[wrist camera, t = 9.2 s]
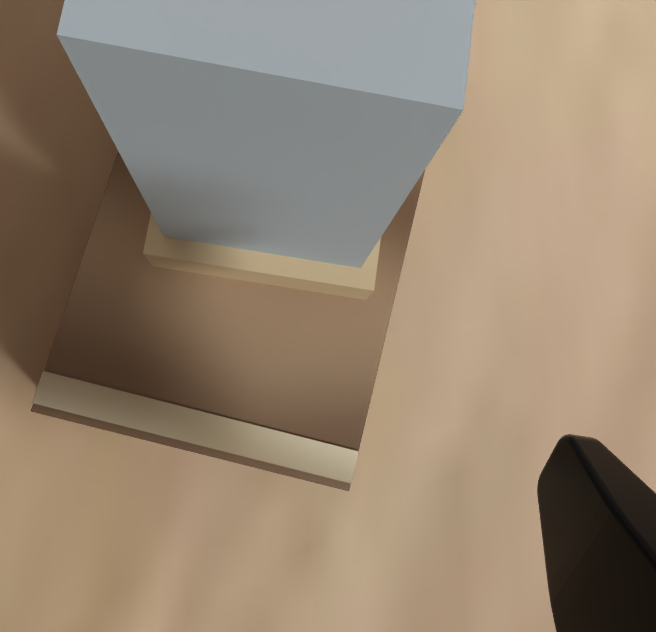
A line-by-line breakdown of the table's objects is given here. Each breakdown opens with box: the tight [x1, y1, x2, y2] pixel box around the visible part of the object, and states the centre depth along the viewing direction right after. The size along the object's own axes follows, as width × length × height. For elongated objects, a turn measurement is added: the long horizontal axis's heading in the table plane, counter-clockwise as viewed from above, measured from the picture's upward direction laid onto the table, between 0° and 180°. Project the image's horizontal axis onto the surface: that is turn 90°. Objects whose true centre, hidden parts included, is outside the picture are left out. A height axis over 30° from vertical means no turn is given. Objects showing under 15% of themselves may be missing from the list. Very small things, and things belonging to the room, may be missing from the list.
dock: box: [31, 151, 425, 491], centre depth 18 cm, size 14×8×3 cm, turn 166°
